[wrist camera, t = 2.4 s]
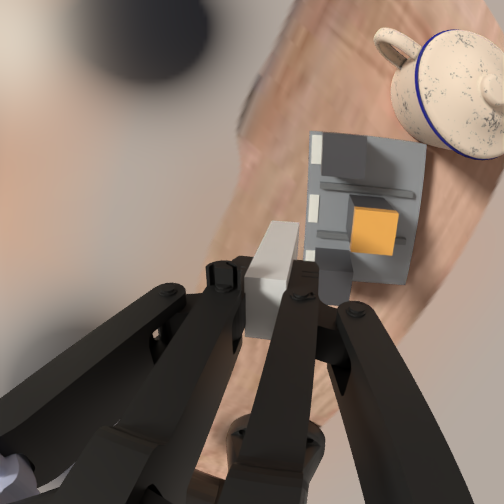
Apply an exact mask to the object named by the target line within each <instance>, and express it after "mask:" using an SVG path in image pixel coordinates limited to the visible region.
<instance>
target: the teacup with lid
mask: <svg viewBox="0 0 504 504" xmlns="http://www.w3.org/2000/svg"><path fill="white" fill-rule="evenodd" d="M374 44H375V46H376V48H377V50H378V51H379V52H380V53H381V55H382V56H383V57H384V58H385V59H387V60H388V61H389V62H390V63H391V64H393V65H394V66H395V67H397V68H398V69H397V70H396V72H395V74H394V76H393V79H392V83H391V101H392V106H393V109H394V112H395V114H396V116H397V118H398V120H399V122H400V123H401V125H402V126H403V127H404V129H405V130H406V131H407V132H408V133H409V134H410V135H412V136H413V137H414V138H415V139H417V140H419V141H420V142H422V143H425V144H427V145H430V146H435V147H439V148H444V149H448V150H453V151H455V152H457V153H458V154H460V155H462V156H464V157H467V158H470V159H475V160H489V159H494V158H497V157H499V156H501V155H503V154H504V52H503V51H502V50H501V49H500V48H499V47H497V46H496V45H495V44H494V43H492V42H491V41H490V40H488V39H486V38H485V37H483V36H481V35H479V34H477V33H474V32H470V31H466V30H455V29H453V30H446V31H443V32H440V33H438V34H436V35H434V36H433V37H432V38H430V39H429V40H428V41H427V42H426V43H425V45H424V46H423V47H421V46H420V45H419V44H417V43H416V42H415V41H414V40H412V39H411V38H409V37H408V36H406V35H405V34H403V33H401V32H399V31H397V30H394V29H391V28H381V29H379V30H378V31H377V33H376V34H375V36H374ZM391 45H393V46H395V47H397V48H398V49H400V50H401V51H403V52H404V53H406V54H407V55H408V56H410V58H408V59H407V58H405V57H404V56H403V55H401V54H400V53H399V52H398V51H396V50H395V49H394V48H393V47H392V46H391Z"/></svg>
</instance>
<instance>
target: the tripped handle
mask: <svg viewBox="0 0 504 504" xmlns="http://www.w3.org/2000/svg"><path fill="white" fill-rule="evenodd" d="M398 216H399V213H398V212H397V211H395V210H394V209H393V208H392V207H391V205H390V204H389V203H388V202H387V201H386V200H385V199H384V198H383V197H373V196H363V195H353V194H349V201H348V212H347V222H346V231H347V235H348V239H349V243H350V251H351V252H356V253H367V254H379V255H390V256H392V254H393V248H394V242H395V236H396V230H397V223H398Z"/></svg>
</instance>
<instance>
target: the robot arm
mask: <svg viewBox="0 0 504 504" xmlns="http://www.w3.org/2000/svg"><path fill="white" fill-rule="evenodd" d="M298 238H299V223H298V222H284V221H271V223H270V225H269V227H268V229H267V231H266V233H265V236H264V238H263V240H262V242H261V244H260V246H259V248H258V250H257V252H256V254H255V256H254V257H248V256H238V257H236V258H235V259H233V260H232V261H215V262H212V263H210V264H208V265H207V266H206V279H207V287H206V288H205V290H204V291H203V293H198V294H186V291H185V288H184V287H183V286H182V285H180V284H177V283H165V284H161V285H159V286H157V287H155V288H153V289H152V290H150V291H149V292H148V293H146V294H145V295H143V296H142V297H140V298H139V299H137V300H136V301H135V302H133V303H132V304H130V305H129V306H128V307H126V308H124V309H123V310H122V311H120V312H119V313H117V314H116V315H115V316H113V317H112V318H110V319H109V320H107V321H106V322H105V323H103V324H102V325H100V326H99V327H97V328H96V329H95V330H93V331H92V332H90V333H89V334H88V335H86V336H85V337H84V338H82V339H81V340H79V341H78V342H76V343H75V344H74V345H72V346H71V347H69V348H68V349H67V350H65V351H64V352H62V353H61V354H60V355H58V356H57V357H56V358H54V359H53V360H52V361H50V362H49V363H47V364H46V365H45V366H43V367H42V368H41V369H39V370H38V371H36V372H35V373H34V374H33V375H31V376H30V377H28V378H27V379H26V380H25V381H23V382H22V383H20V384H19V385H18V386H16V387H15V388H14V389H12V390H11V391H10V392H9V393H7V394H6V395H4V396H3V397H2V398H0V504H306V503H307V496H308V488H309V483H310V481H311V479H312V477H313V475H314V473H315V471H316V469H317V467H318V465H319V463H320V461H321V459H322V457H323V455H324V450H325V436H324V434H323V432H322V431H321V430H320V429H319V428H318V427H317V426H316V425H315V424H313V423H311V422H310V421H309V417H310V408H311V399H312V389H313V378H314V367H315V359H317V360H320V361H323V362H326V363H327V369H328V372H329V376H330V379H331V382H332V386H333V389H334V392H335V396H336V399H337V402H338V406H339V409H340V413H341V416H342V419H343V423H344V426H345V430H346V433H347V437H348V441H349V444H350V448H351V451H352V455H353V459H354V462H355V466H356V470H357V473H358V477H359V481H360V485H361V489H362V492H363V496H364V500H365V504H474V503H473V499H472V497H471V495H470V492H469V490H468V488H467V485H466V483H465V481H464V478H463V476H462V474H461V472H460V469H459V467H458V465H457V463H456V461H455V459H454V456H453V454H452V452H451V450H450V448H449V446H448V444H447V442H446V440H445V438H444V436H443V434H442V432H441V430H440V427H439V426H438V424H437V422H436V420H435V418H434V416H433V414H432V412H431V410H430V408H429V406H428V404H427V402H426V401H425V399H424V397H423V395H422V393H421V391H420V389H419V387H418V385H417V384H416V382H415V380H414V378H413V376H412V374H411V373H410V371H409V369H408V367H407V366H406V364H405V362H404V360H403V359H402V357H401V355H400V353H399V352H398V350H397V348H396V346H395V345H394V343H393V341H392V340H391V338H390V336H389V334H388V333H387V331H386V329H385V328H384V326H383V324H382V323H381V321H380V319H379V318H378V316H377V315H376V313H375V311H374V310H373V309H372V308H371V307H370V306H369V305H367V304H365V303H363V302H360V301H347V302H344V303H342V304H340V305H339V307H338V309H337V308H333V307H330V306H328V305H326V304H324V303H323V302H322V301H321V300H320V299H319V296H318V288H319V266H318V265H317V263H316V262H315V261H303V260H297V254H298ZM244 328H245V337H252V338H260V339H268V340H271V342H270V346H269V349H268V353H267V357H266V361H265V364H264V368H263V372H262V375H261V379H260V383H259V386H258V390H257V393H256V397H255V401H254V404H253V408H252V411H251V414H248V415H244V416H242V417H240V418H238V419H236V420H235V421H234V422H233V423H232V424H231V426H230V429H229V432H228V435H227V439H226V447H227V461H228V474H227V477H226V480H223V479H221V478H218V477H215V476H212V475H210V474H207V473H205V472H202V471H199V470H197V469H195V467H196V465H197V462H198V460H199V457H200V454H201V452H202V449H203V447H204V444H205V442H206V439H207V436H208V434H209V431H210V429H211V426H212V424H213V421H214V418H215V416H216V413H217V410H218V408H219V405H220V403H221V400H222V397H223V395H224V392H225V389H226V387H227V384H228V381H229V379H230V376H231V373H232V371H233V368H234V365H235V362H236V360H237V357H238V354H239V352H240V349H241V346H242V333H243V330H244ZM156 329H158V333H159V335H158V336H157V337H156V338H153V334H152V333H153V332H154V331H155V330H156ZM119 420H120V421H119ZM118 421H119V422H118ZM117 422H118V423H117ZM116 423H117V424H116ZM114 424H116V425H115V426H114ZM73 463H75V464H74V465H73V467H72V468H71V470H70V472H69V473H68V474H67V476H66V478H65V479H64V481H63V482H62V484H61V486H60V487H58V488H56V489H52V490H49V491H47V492H44V493H41V494H40V492H39V491H38V489H37V488H39V487H41V486H43V485H45V484H47V483H49V482H50V481H52V480H54V479H55V478H57V477H58V476H59V475H61V474H62V473H63V472H64V471H65V470H67V469H68V468H69V467H70V466H71V465H72V464H73Z"/></svg>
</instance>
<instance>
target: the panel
mask: <svg viewBox="0 0 504 504" xmlns="http://www.w3.org/2000/svg"><path fill="white" fill-rule="evenodd" d="M426 147H427V144H422V143H417V142H411V141H404V140H397V139H390V138H382V137H374V136H366V135H356V134H346V133H334V132H321V131H310V138H309V168H308V190H307V209H306V226H305V241H304V255H303V261H315V262H316V263H317V265H318V266H319V288H318V296H319V299H320V300H321V301H322V302H323V303H324V304H326V305H335V306H339V305H340V304H342V303H344V302H347V301H349V297H350V292H351V286H352V281H358V282H371V283H384V284H398V285H405V284H406V280H407V275H408V271H409V266H410V262H411V257H412V252H413V247H414V241H415V236H416V230H417V224H418V218H419V211H420V204H421V197H422V189H423V180H424V171H425V160H426ZM349 194H353V195H363V196H373V197H383V198H384V199H385V200H386V201H387V202H388V203H389V204H390V205H391V207H392V208H393V209H394V210H395V211H397V212H398V213H399V216H398V223H397V230H396V236H395V242H394V248H393V254H392V256H390V255H379V254H367V253H356V252H351V251H350V243H349V239H348V235H347V231H346V222H347V212H348V201H349Z"/></svg>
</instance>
